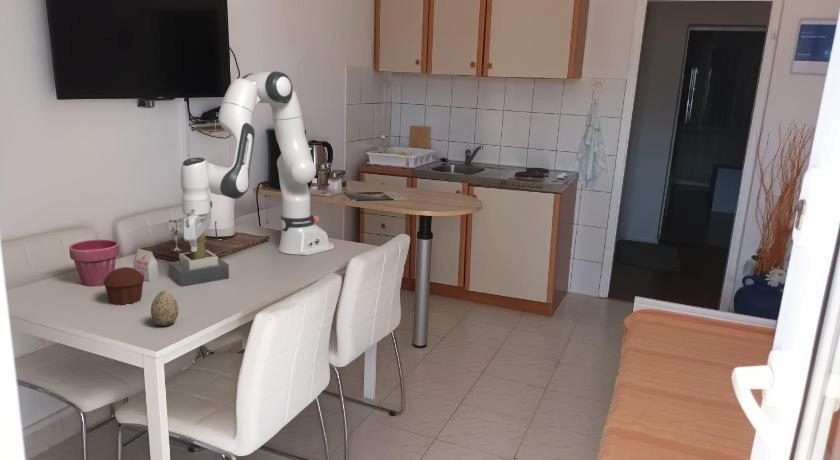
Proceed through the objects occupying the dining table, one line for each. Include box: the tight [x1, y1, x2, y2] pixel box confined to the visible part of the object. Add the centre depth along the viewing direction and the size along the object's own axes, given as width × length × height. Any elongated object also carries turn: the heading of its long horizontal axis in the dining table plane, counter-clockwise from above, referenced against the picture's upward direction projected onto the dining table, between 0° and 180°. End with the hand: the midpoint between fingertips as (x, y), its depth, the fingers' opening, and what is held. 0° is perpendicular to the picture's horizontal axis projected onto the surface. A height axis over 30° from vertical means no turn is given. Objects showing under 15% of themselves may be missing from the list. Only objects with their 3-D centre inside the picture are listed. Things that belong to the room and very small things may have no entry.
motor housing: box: [168, 249, 230, 287], centre depth 211 cm, size 16×12×8 cm
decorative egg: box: [150, 290, 179, 327], centre depth 172 cm, size 7×7×10 cm
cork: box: [189, 233, 207, 260], centre depth 209 cm, size 6×6×11 cm
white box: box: [133, 248, 159, 283], centre depth 207 cm, size 4×7×10 cm, turn 64°
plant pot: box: [68, 239, 120, 287], centre depth 202 cm, size 14×14×13 cm
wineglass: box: [167, 218, 184, 250], centre depth 239 cm, size 6×6×12 cm
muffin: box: [103, 266, 145, 306], centre depth 188 cm, size 12×11×10 cm
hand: (198, 247), depth 209 cm, fingers open, 8 cm apart
